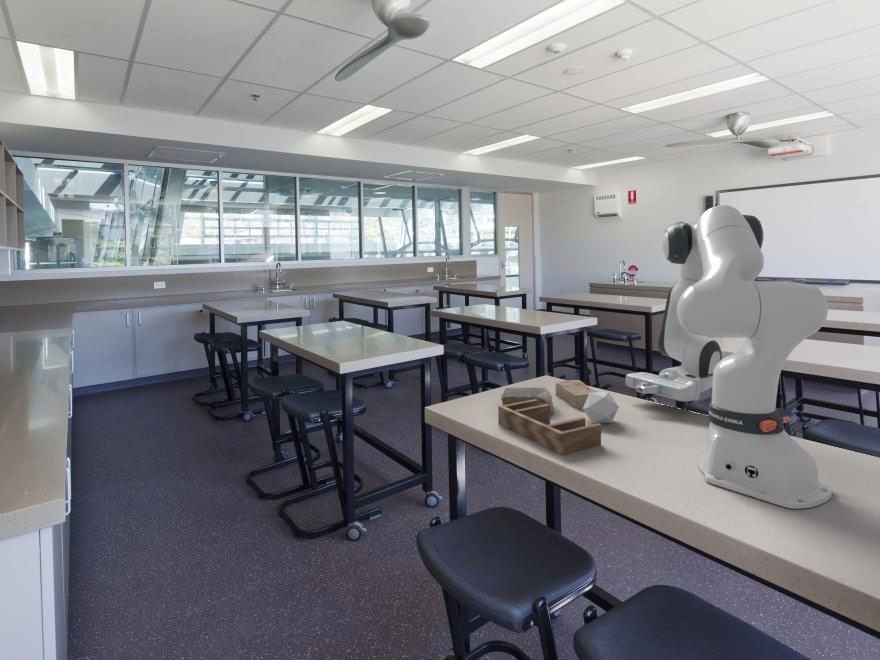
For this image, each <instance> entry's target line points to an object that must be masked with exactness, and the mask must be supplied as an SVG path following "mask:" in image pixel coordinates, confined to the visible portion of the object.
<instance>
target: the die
mask: <svg viewBox="0 0 880 660" xmlns="http://www.w3.org/2000/svg"><path fill="white" fill-rule="evenodd" d="M619 408H620V407H619V405H618V403H617V402H616V400H615V399H614V397H613V396H612V394H610V392H609V391H602V392H600V391H599V392H598V391H597V392H594V393H589V395H588V398H587V400H586V402H585V404H584V407H583V409H582V410H583V412H584V413H585V415H586V416H587V418H588V420H589V421H590V422H591V423H592V424H596V423H599V424H612V423H613V420H614V418H615V417H616V414H617V412H618V410H619ZM592 424H591V425H592Z"/></svg>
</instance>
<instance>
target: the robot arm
mask: <svg viewBox="0 0 880 660" xmlns="http://www.w3.org/2000/svg"><path fill="white" fill-rule="evenodd" d="M764 238H765V237H764V229H763V226H762V223H761V221H760V220H759V218H757V217H756V216H755V215H750V214H742V213H741V212H740V211H739V210H738V209H737V208H736V207H733V206H730V205H725V204H722V205H721V204H719V205H716V206H715V205H714V206H713V207H710V208H708V209H707V210H705V211H704V212H703V213H702V214H701V215H700V217H699V218H697V219H692V220H687V221H678V222H675V223H672V224H669V226H668V227H667V228H666V229H665V230H664V234H663V237H662V239H661V240H662V242H661V247H662V251H663V254H664V256H665V257H666V260H667V261H668V262H670V264H675V265H679V276H678V277H679V278H678V280H677V281H675V282H674V283H673V284H672V285H671V286H670V289H669V290H668V294H667V298H666V302H665V307H664V308H665V309H664V312H663V318H662V323H661V324H662V325H661V327H660V328H661V329H660V331H659V334H658V336H657V340H656V343H657V348H658V351H659V353H660V354H661V355H662V356H665V357H667V358H670V359H674V360H676V361H678V362H680V363H681V364H680V365H678V366H673V367H669V368H664V369H662V370H661V371H660V372H659V373H658V375H657V374H654V373H649V372H645V371H644V372H643V371H640V372H639V371H638V372H632V373H631V372H630V373H627V374H626V376H625V386H626V387H630V388H632V389H636V390H635V391H636V392H638V393H641V394H645V395H647V394H655V395H657V396H661V397H664V398H668V399H672V400H674V401H678V402H683V403H684V402H691V401H692V402H695V401H699V400H700V397H701V396H700V395H701V393H702V392H704V391H707V390H709V389H711V388H712V392H711V401H709V405H708V414H707V415H708V417H707V418H708V419H707V420H708V425H709V426H708V432H707V438H706V444H705V447H704V451H703V454H702V457H701V460H700V462H699V463H698V464H699V465H698V467H699V468H698V469H700V471H701V473H702V474H704V480H705V482H706V483H708V484H711V485H715V486H718V487H721V488H725V489H726V490H729V491H733V492H737V493H740V494H742V495H746V496H748V497H753V498H756V499H759V500H761V501H765V502H768V503H771V504H774V505H777V506H780V507H784V508H787V509H792V510H793V509H794V510H797V509H798V510H800V509H801V510H802V509H808V508H813V507H816V506H819V505H822V504H824V503H826V502H828V501H829V500H830V499H831V498H832V496H833V488H832V487H831V486H830V485H828V484H827V483H824V482H822V481H820V480H819V474H818V472H819V471H818V465H817V462H816V460H815V458H814V457H813V455H811V454H810V453H809V452H808V451H806V450H805V449H804V448H803V446H801V445H800V444H799V443H797V441H796V440H794V439H793V438H792V437H791V436H790V435H789V434H788V433H787V432H786V431H785V430H784V429H785V428H784V424H785V423H789V422H790V420H789V419H790V415H788V416H784V417H782V415H781V414H780V413H779V411H778V409H777V408H776V405H777V395H778V387H779V382H780V381H779V380H780V376H781V373H782V369H783V366H784V365H785V363H786V361H787V359H788V357H790V355H791V353H793V351H794V349H795V348H797V347H798V346H799V345H800V344H801V343H802V342H803V341H804V340H805V339H807V338H809V337H811V336H813V335H814V334H816V333H817V332H819V330H820V329H821V328H822V327H823V325H824V324H825V323H826V320H827V317H828V313H829V308H828V307H829V304H828V300H827V299H826V296H825V294H824V293H823V292H822V291H821V290H820V288H819V287H817V286H816V285H814V284H813V285H812V284H808V283H802V282H796V281H788V280H781V281H780V280H773V281H772V280H769V281H768V280H765V281H764V280H763V281H756V279H757V277H759V275H761V272H762V271H763V268H764V264H765V262H764V261H765V259H764V255H763V252H762V250H761V249H762V247H763V242H764ZM754 280H755V281H754ZM712 338H718V339H719V338H724V339H725V338H727V339H729V338H734V339H735V338H736V339H738V338H740V339H745V338H746V341H745V342H744V344H743V346H742V347H741V348H740V349H739V350H737V351H736V352H734V353H731V354H730V355H727V356H725V357H723V354H722V349H721V346H720V344H719V343H718V342H717V341H716V340H715V339H712Z"/></svg>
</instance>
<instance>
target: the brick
mask: <svg viewBox="0 0 880 660" xmlns="http://www.w3.org/2000/svg"><path fill="white" fill-rule="evenodd" d="M594 392H598V391H597V390H594V389H592V388H590V387H589V386H588V385H587V384H585V383H584V382H583V381H581V380H579V379H570V380H565V381H563V380H561V381H555V395H556V397H559V398H560V399H562V400H563V401H564V402H566V403H567V404H568V405H570V406H572V407H573V408H575V409H580V410H583V407H584V404H585V402H586V400H587V398H588V395H589V393H594Z"/></svg>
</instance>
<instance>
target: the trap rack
mask: <svg viewBox="0 0 880 660" xmlns="http://www.w3.org/2000/svg"><path fill="white" fill-rule="evenodd" d="M497 411H498V413H497V414H498V423H497V424H498V425H499V426H502V427H504V428H505V429H507V430H509V431H511V432H513V433H516V434H517V435H520V437H521V436H522V437H523V438H526V439H528V440H529V441H532V442H533V443H535V444H538V445H540V446H541V447H544V448H546V449H548V450H549V451H552V452H554V453H555V454H558V455H560V456H563V455H567V454H572V453H576V452H578V451H583V450H585V449H590V448H594V447H598V446H601V445H602V423H594V424H587V425H586V420H587V419H586V418H585V417H577V418H571V419H568V420H564V421H559V422H555V423H551V414H550V405H549V404H544V405H539V406H538V400H536V399H533V400H528V401H523V402H518V403H513V404H507V405H503V404H502V405H498V410H497Z"/></svg>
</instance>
